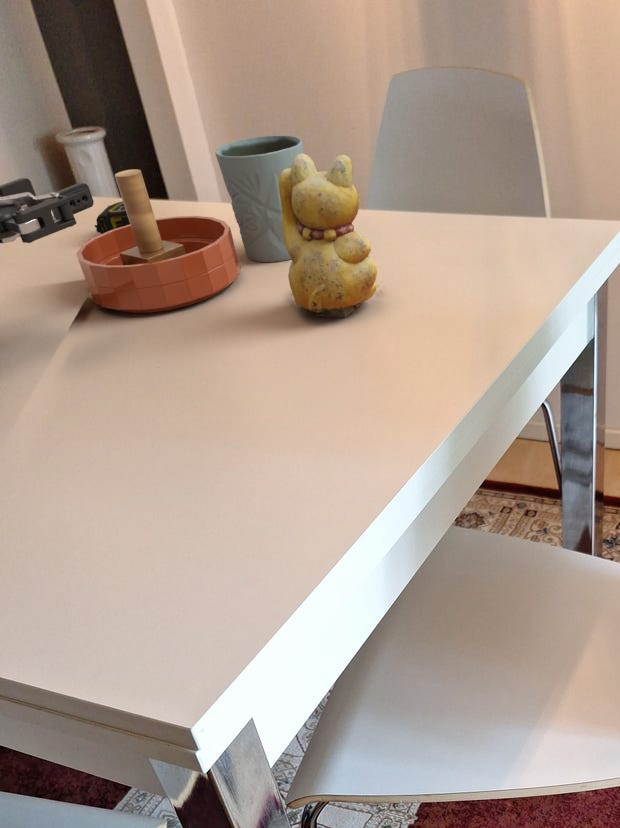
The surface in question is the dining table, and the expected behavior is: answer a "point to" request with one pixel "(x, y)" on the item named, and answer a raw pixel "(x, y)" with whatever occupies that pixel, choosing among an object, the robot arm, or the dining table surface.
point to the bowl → (161, 266)
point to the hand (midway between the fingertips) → (59, 190)
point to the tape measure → (112, 218)
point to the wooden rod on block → (143, 223)
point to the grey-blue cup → (258, 191)
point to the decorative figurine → (325, 238)
